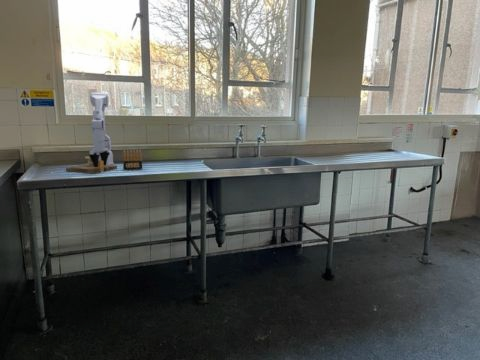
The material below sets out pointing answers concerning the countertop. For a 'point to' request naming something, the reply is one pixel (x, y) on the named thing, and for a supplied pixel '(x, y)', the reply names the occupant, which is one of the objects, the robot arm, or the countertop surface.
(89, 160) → the mushroom shaped handle
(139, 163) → the ammunition clip
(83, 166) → the notched board
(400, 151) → the countertop surface
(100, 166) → the block
